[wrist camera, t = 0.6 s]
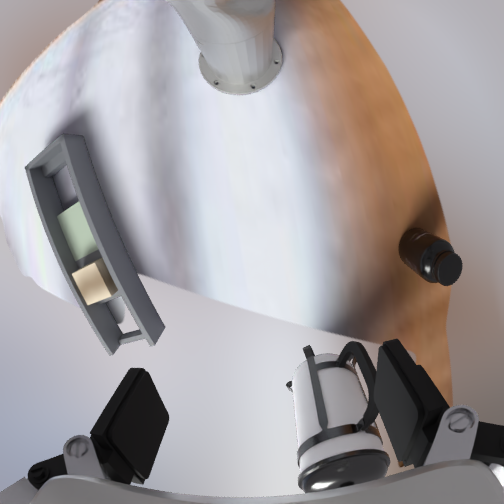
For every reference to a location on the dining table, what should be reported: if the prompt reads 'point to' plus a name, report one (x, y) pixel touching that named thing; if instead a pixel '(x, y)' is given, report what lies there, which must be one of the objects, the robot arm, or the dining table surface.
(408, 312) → the dining table surface
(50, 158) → the trap box
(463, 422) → the robot arm
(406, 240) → the supplement bottle
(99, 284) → the beech block
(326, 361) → the coffee press
